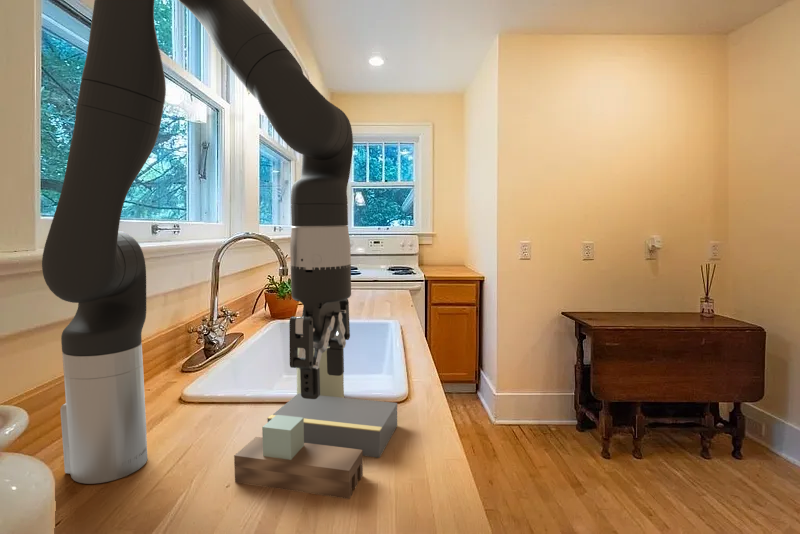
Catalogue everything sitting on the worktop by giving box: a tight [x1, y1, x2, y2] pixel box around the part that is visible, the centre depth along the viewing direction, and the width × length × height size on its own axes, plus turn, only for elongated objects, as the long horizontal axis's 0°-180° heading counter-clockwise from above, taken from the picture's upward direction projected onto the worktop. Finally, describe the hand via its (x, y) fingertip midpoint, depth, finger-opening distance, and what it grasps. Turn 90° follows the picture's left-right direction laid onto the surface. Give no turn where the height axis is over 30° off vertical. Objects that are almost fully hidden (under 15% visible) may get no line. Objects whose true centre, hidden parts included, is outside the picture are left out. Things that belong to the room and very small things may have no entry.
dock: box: [266, 393, 398, 458], centre depth 77 cm, size 18×11×4 cm, turn 77°
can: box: [296, 347, 345, 398], centre depth 91 cm, size 9×9×12 cm
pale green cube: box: [261, 415, 304, 460], centre depth 64 cm, size 4×4×4 cm
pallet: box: [233, 436, 364, 500], centre depth 64 cm, size 16×6×4 cm, turn 77°
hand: (323, 385), depth 62 cm, fingers open, 8 cm apart
